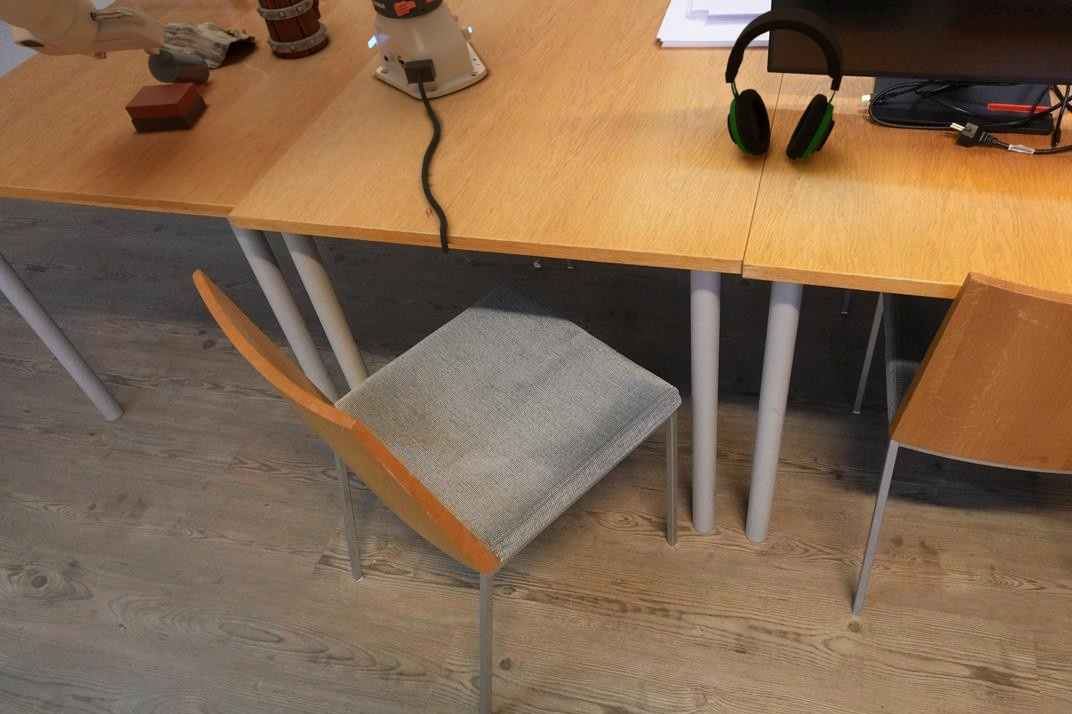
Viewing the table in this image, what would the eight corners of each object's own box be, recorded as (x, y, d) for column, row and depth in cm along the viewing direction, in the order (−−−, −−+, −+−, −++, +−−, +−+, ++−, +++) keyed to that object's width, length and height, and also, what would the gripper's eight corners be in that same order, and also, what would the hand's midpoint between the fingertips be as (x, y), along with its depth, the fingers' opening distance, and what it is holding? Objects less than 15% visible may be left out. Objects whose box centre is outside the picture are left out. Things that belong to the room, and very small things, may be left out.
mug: (255, 57, 153) (230, -28, 144) (303, 38, 163) (283, -43, 154) (302, 62, 150) (279, -24, 140) (348, 43, 160) (330, -39, 150)
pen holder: (212, 84, 148) (181, 81, 138) (185, 87, 148) (152, 84, 139) (205, 53, 146) (173, 47, 136) (178, 55, 146) (144, 50, 137)
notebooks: (190, 128, 137) (176, 103, 133) (137, 132, 138) (122, 107, 134) (207, 106, 142) (194, 81, 139) (156, 109, 143) (142, 85, 140)
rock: (225, 88, 153) (275, 46, 160) (210, 57, 147) (261, 14, 154) (139, 55, 159) (190, 15, 166) (121, 23, 153) (174, -16, 160)
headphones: (826, 175, 109) (846, 32, 94) (717, 164, 114) (720, 26, 99) (835, 140, 115) (855, 0, 100) (731, 131, 119) (736, -5, 104)
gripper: (127, -11, 114) (185, 27, 128) (-1, 1, 116) (71, 37, 130) (130, 33, 114) (188, 66, 128) (3, 44, 116) (74, 76, 130)
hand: (128, 52), depth 129 cm, fingers open, 8 cm apart
